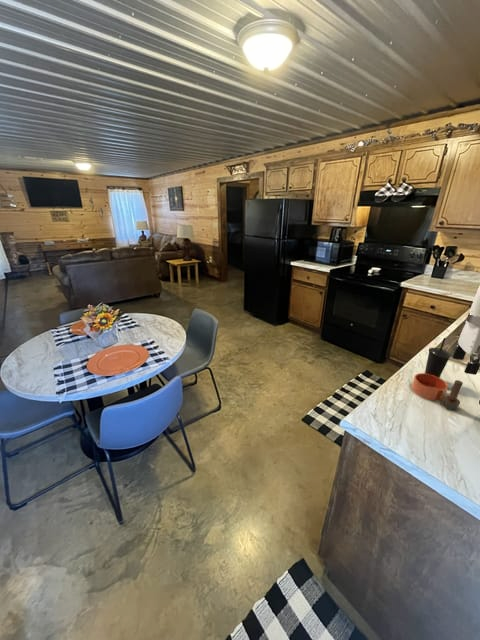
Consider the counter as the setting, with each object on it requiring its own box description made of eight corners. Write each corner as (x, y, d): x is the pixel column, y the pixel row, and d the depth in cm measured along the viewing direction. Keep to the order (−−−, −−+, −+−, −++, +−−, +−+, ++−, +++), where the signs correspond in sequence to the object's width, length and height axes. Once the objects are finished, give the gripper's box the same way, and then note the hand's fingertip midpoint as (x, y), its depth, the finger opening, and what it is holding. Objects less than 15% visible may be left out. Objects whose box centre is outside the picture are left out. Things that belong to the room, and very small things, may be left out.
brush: (454, 403, 99) (464, 379, 95) (459, 412, 95) (470, 387, 90) (439, 401, 100) (448, 377, 96) (444, 409, 96) (453, 384, 92)
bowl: (438, 386, 109) (442, 376, 107) (448, 403, 99) (453, 392, 97) (408, 381, 112) (411, 371, 110) (415, 397, 102) (419, 386, 100)
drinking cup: (439, 377, 115) (453, 336, 107) (443, 387, 108) (459, 344, 101) (418, 372, 118) (431, 332, 110) (421, 382, 111) (435, 340, 103)
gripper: (512, 333, 76) (489, 382, 82) (482, 312, 91) (465, 355, 97) (481, 329, 78) (461, 377, 84) (457, 310, 93) (441, 352, 99)
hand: (463, 365), depth 91 cm, fingers open, 9 cm apart
